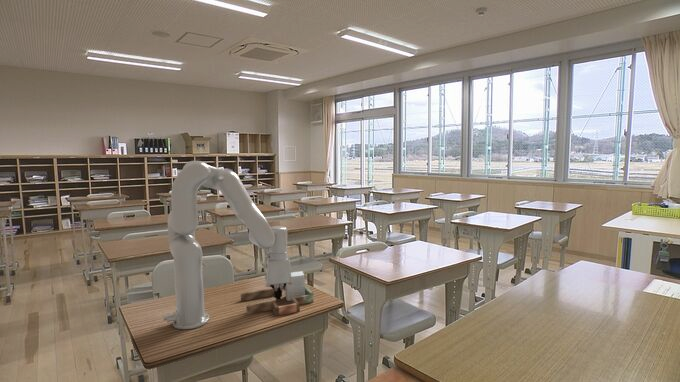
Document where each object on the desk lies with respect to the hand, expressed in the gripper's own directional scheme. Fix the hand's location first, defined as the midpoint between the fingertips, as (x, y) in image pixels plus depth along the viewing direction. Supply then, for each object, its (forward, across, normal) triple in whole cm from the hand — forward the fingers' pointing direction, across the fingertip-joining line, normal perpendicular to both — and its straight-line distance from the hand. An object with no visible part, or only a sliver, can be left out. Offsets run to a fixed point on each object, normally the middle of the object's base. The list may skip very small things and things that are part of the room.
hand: (278, 298), depth 156 cm
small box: (+1, +8, 0) cm, 8 cm away
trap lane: (+1, -1, 0) cm, 1 cm away
